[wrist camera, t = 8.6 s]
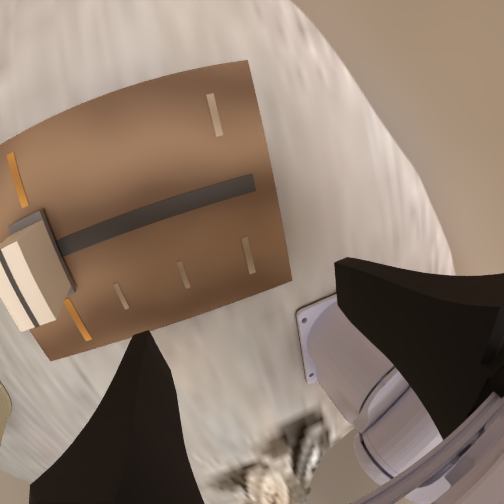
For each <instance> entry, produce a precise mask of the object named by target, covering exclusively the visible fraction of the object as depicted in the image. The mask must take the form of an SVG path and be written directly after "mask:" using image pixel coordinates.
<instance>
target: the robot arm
mask: <svg viewBox="0 0 504 504" xmlns="http://www.w3.org/2000/svg"><path fill="white" fill-rule="evenodd" d="M334 266H335V278H336V291H337V294H335V295H332V296H330V297H328V298H325V299H323V300H321V301H319V302H316V303H314V304H312V305H309V306H307V307H304V308H302V309H300V310H299V311H298V312H297V314H296V318H297V324H298V330H299V337H300V343H301V350H302V356H303V363H304V370H305V377H306V382H307V383H308V384H313V383H315V382H317V381H318V382H319V384H320V385H321V387H322V388H323V389H324V391H325V392H326V393H327V395H328V396H329V397H330V399H331V400H332V402H333V403H334V404H335V406H336V407H337V408H338V410H339V411H340V412H341V414H342V415H343V416H344V418H345V419H346V420H347V421H348V422H350V423H351V424H353V425H355V427H356V428H357V429H358V430H359V432H358V433H357V434H356V436H355V437H354V451H355V455H356V458H357V460H358V462H359V464H360V465H361V467H362V468H363V470H364V471H365V472H366V473H367V474H368V475H369V476H370V477H371V478H372V479H373V480H374V481H375V482H376V483H378V484H379V485H381V486H380V487H379V488H377V489H375V490H373V491H372V492H370V493H368V494H367V495H365V496H363V497H361V498H360V499H358V500H356V501H354V502H352V503H350V504H394V503H395V502H397V501H399V500H400V499H401V498H403V497H405V498H407V499H408V500H410V501H413V502H414V503H416V504H424V503H429V502H432V503H431V504H504V273H502V274H495V275H483V276H449V275H438V274H429V273H422V272H416V271H411V270H406V269H401V268H396V267H392V266H387V265H383V264H379V263H374V262H370V261H366V260H361V259H356V258H349V257H347V258H344V259H342V260H339V261H337V262H334ZM304 318H305V319H304ZM302 319H304V320H303V321H302ZM29 496H30V497H29V504H204V501H203V499H202V497H201V494H200V491H199V489H198V486H197V483H196V481H195V478H194V475H193V472H192V469H191V466H190V463H189V460H188V457H187V453H186V449H185V444H184V439H183V433H182V427H181V420H180V414H179V407H178V400H177V393H176V389H175V385H174V381H173V378H172V374H171V370H170V368H169V366H168V365H167V363H166V361H165V359H164V357H163V356H162V354H161V352H160V350H159V348H158V346H157V344H156V343H155V341H154V339H153V337H152V335H151V333H150V331H149V330H147V331H144V332H141V333H138V334H135V335H133V337H132V339H131V341H130V343H129V345H128V347H127V350H126V352H125V354H124V356H123V359H122V361H121V363H120V365H119V367H118V370H117V372H116V374H115V376H114V378H113V380H112V382H111V384H110V386H109V388H108V390H107V391H106V393H105V395H104V397H103V399H102V401H101V403H100V404H99V406H98V408H97V409H96V411H95V412H94V414H93V415H92V417H91V419H90V420H89V422H88V423H87V424H86V426H85V427H84V428H83V430H82V431H81V432H80V434H79V435H78V436H77V438H76V439H75V440H74V442H73V443H72V444H71V445H70V447H69V448H68V449H67V450H66V451H65V452H64V453H63V455H62V456H61V457H60V458H59V459H58V460H57V461H56V462H55V463H54V464H53V465H52V466H51V467H50V468H49V469H48V470H47V471H45V472H44V473H43V474H42V475H41V476H40V477H39V478H38V479H37V480H35V481H34V482H33V483H32V484H31V485H30V494H29Z"/></svg>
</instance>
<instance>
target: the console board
mask: <svg viewBox="0 0 504 504" xmlns="http://www.w3.org/2000/svg"><path fill="white" fill-rule="evenodd" d="M41 209H43V211H44V214H45V217H46V219H47V222H48V225H49V227H50V230H51V233H52V235H53V238H54V240H55V242H56V245H57V247H58V250H59V252H60V254H61V257H62V259H63V261H64V263H65V266H66V268H67V270H68V272H69V274H70V276H71V278H72V280H73V283H74V285H75V287H76V289H77V290H76V292H75V293H74V294H71V295H69V296H66V298H65V300H64V303H63V305H62V307H61V310H60V312H59V314H58V317H57V319H56V320H55V321H52V322H49V323H46V324H43V325H40V327H37V328H35V327H34V328H31V329H29V330H30V332H31V333H32V335H33V336H34V338H35V339H36V341H37V342H38V344H39V345H40V347H41V348H42V350H43V351H44V353H45V354H46V356H47V357H48V358H49V360H50V361H53V360H57V359H60V358H64V357H67V356H71V355H74V354H78V353H81V352H85V351H88V350H91V349H95V348H98V347H101V346H105V345H108V344H111V343H114V342H118V341H121V340H124V339H127V338H130V337H133V335H135V334H138V333H141V332H144V331H147V330H149V331H152V330H155V329H158V328H161V327H164V326H167V325H170V324H173V323H176V322H179V321H182V320H185V319H188V318H191V317H194V316H197V315H200V314H202V313H205V312H208V311H211V310H214V309H217V308H220V307H222V306H225V305H228V304H231V303H233V302H236V301H239V300H242V299H244V298H247V297H250V296H253V295H255V294H258V293H261V292H263V291H266V290H269V289H271V288H274V287H277V286H279V285H282V284H285V283H287V282H290V281H292V276H291V270H290V264H289V258H288V253H287V247H286V241H285V236H284V230H283V225H282V220H281V214H280V209H279V204H278V199H277V193H276V188H275V183H274V178H273V173H272V168H271V163H270V158H269V154H268V149H267V144H266V139H265V135H264V130H263V125H262V121H261V116H260V112H259V107H258V103H257V98H256V94H255V90H254V85H253V81H252V77H251V72H250V68H249V64H248V60H245V61H238V62H231V63H225V64H219V65H213V66H208V67H203V68H198V69H193V70H188V71H184V72H180V73H175V74H171V75H167V76H163V77H160V78H156V79H152V80H149V81H145V82H142V83H139V84H135V85H132V86H129V87H126V88H123V89H120V90H117V91H114V92H111V93H109V94H106V95H103V96H100V97H98V98H95V99H92V100H90V101H87V102H85V103H82V104H80V105H78V106H75V107H73V108H71V109H68V110H66V111H64V112H62V113H59V114H57V115H55V116H53V117H51V118H49V119H47V120H45V121H43V122H41V123H39V124H37V125H35V126H33V127H31V128H29V129H27V130H25V131H24V132H22V133H20V134H18V135H16V136H15V137H13V138H11V139H9V140H8V141H6V142H4V143H3V144H1V145H0V243H1V242H3V241H4V240H5V239H6V238H8V237H9V236H10V232H9V230H8V226H9V225H11V224H12V223H14V222H16V221H18V220H20V219H22V218H24V217H26V216H28V215H30V214H32V213H35V212H37V211H39V210H41Z"/></svg>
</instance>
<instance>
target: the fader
mask: <svg viewBox="0 0 504 504" xmlns="http://www.w3.org/2000/svg"><path fill="white" fill-rule="evenodd" d="M8 230H9V232H10V236H9V237H8V238H6V239H5V240H4V241H3V242H1V243H0V297H1V299H2V301H3V302H4V304H5V306H6V308H7V310H8V311H9V313H10V315H11V316H12V318H13V320H14V321H15V323H16V325H17V326H18V328H19V330H20V331H21V332H22V331H25V330H28V329H31V328H34V327H35V328H37V327H40V325H43V324H46V323H49V322H52V321H55V320H56V319H57V317H58V314H59V312H60V310H61V307H62V305H63V303H64V300H65V298H66V296H69V295H71V294H74V293H75V292H76V290H77V289H76V287H75V285H74V283H73V280H72V278H71V276H70V274H69V272H68V270H67V268H66V266H65V263H64V261H63V259H62V257H61V254H60V252H59V250H58V247H57V245H56V242H55V240H54V238H53V235H52V233H51V230H50V227H49V225H48V222H47V219H46V217H45V214H44V211H43V209H41V210H39V211H37V212H35V213H32V214H30V215H28V216H26V217H24V218H22V219H20V220H18V221H16V222H14V223H12V224H11V225H9V226H8Z"/></svg>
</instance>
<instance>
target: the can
mask: <svg viewBox="0 0 504 504" xmlns="http://www.w3.org/2000/svg"><path fill="white" fill-rule="evenodd" d="M11 409H12V405H11V400H10V397H9V395H8V393H7V391H6V390H5V388H4V386H3V385H2V384H1V382H0V445H1V441H2V436H3V433H4V429H5V425H6V422H7V419H8V416H9V415H10V413H11Z"/></svg>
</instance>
